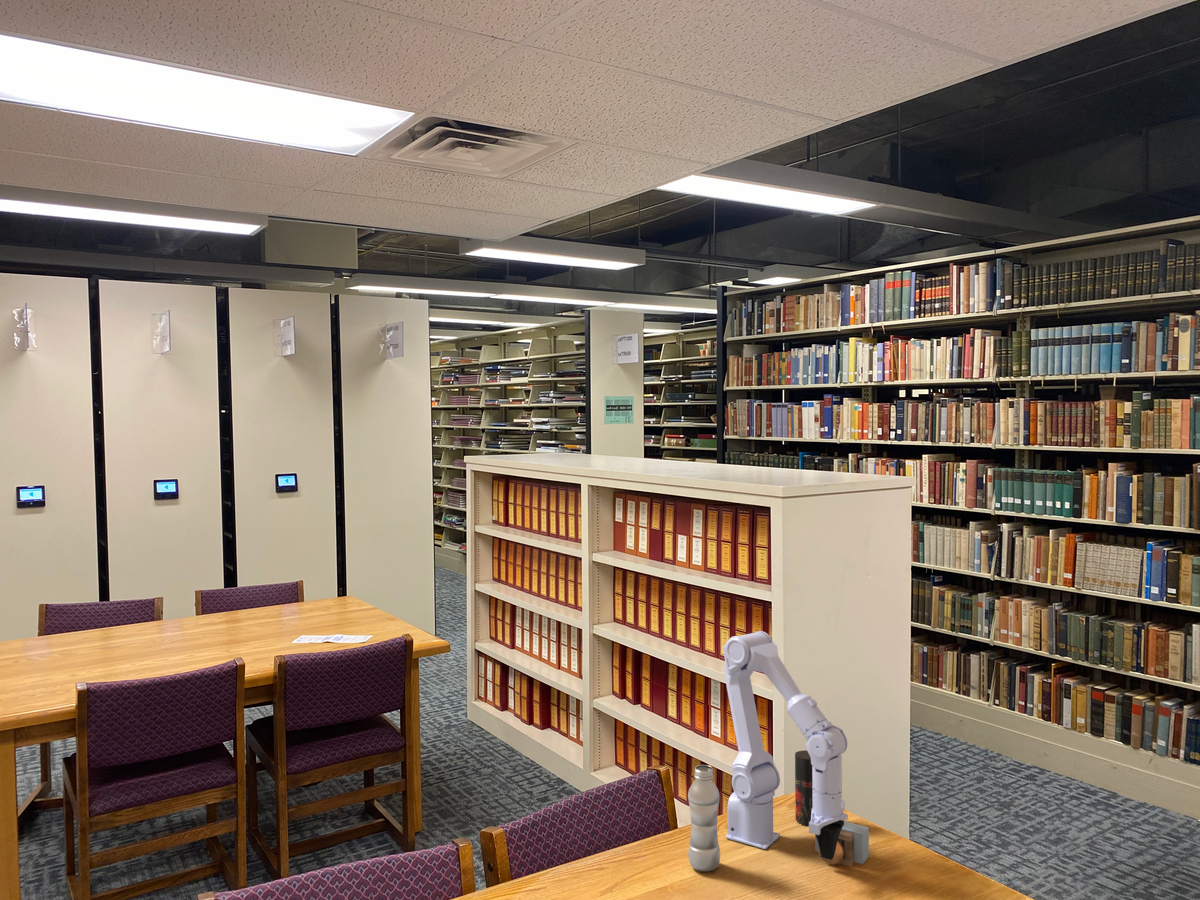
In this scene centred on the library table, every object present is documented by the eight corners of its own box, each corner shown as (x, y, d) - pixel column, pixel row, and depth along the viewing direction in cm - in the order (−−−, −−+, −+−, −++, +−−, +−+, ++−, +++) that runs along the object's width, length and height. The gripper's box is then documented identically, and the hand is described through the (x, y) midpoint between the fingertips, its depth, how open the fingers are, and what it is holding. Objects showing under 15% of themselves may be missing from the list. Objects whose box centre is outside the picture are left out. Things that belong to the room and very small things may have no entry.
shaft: (842, 867, 165) (841, 843, 165) (818, 860, 168) (818, 836, 168) (859, 846, 174) (859, 823, 174) (837, 840, 177) (837, 818, 177)
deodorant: (823, 827, 184) (822, 760, 184) (795, 825, 185) (795, 758, 186) (821, 816, 190) (821, 751, 190) (795, 814, 191) (794, 749, 191)
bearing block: (815, 850, 173) (815, 822, 173) (822, 843, 177) (821, 815, 177) (862, 864, 167) (862, 834, 168) (868, 856, 171) (868, 827, 171)
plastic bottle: (724, 863, 168) (724, 764, 168) (714, 878, 162) (714, 776, 162) (694, 857, 171) (693, 760, 171) (683, 872, 164) (683, 771, 165)
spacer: (819, 857, 170) (818, 828, 171) (822, 853, 172) (822, 824, 172) (850, 866, 167) (850, 836, 167) (853, 862, 168) (853, 833, 168)
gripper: (833, 806, 157) (834, 877, 157) (858, 782, 169) (859, 848, 169) (798, 797, 162) (799, 867, 161) (825, 774, 173) (825, 839, 173)
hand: (827, 857), depth 165 cm, fingers closed
